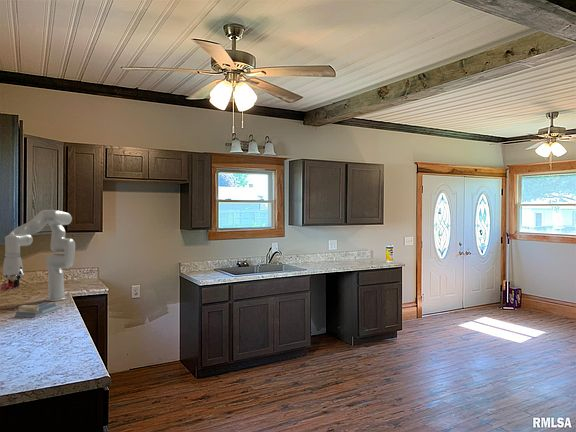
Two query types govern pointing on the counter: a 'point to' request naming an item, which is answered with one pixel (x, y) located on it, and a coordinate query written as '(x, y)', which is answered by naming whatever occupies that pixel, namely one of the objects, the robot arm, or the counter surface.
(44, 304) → the board
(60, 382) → the counter surface
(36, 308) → the tan long rectangular block
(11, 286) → the toy fire truck
